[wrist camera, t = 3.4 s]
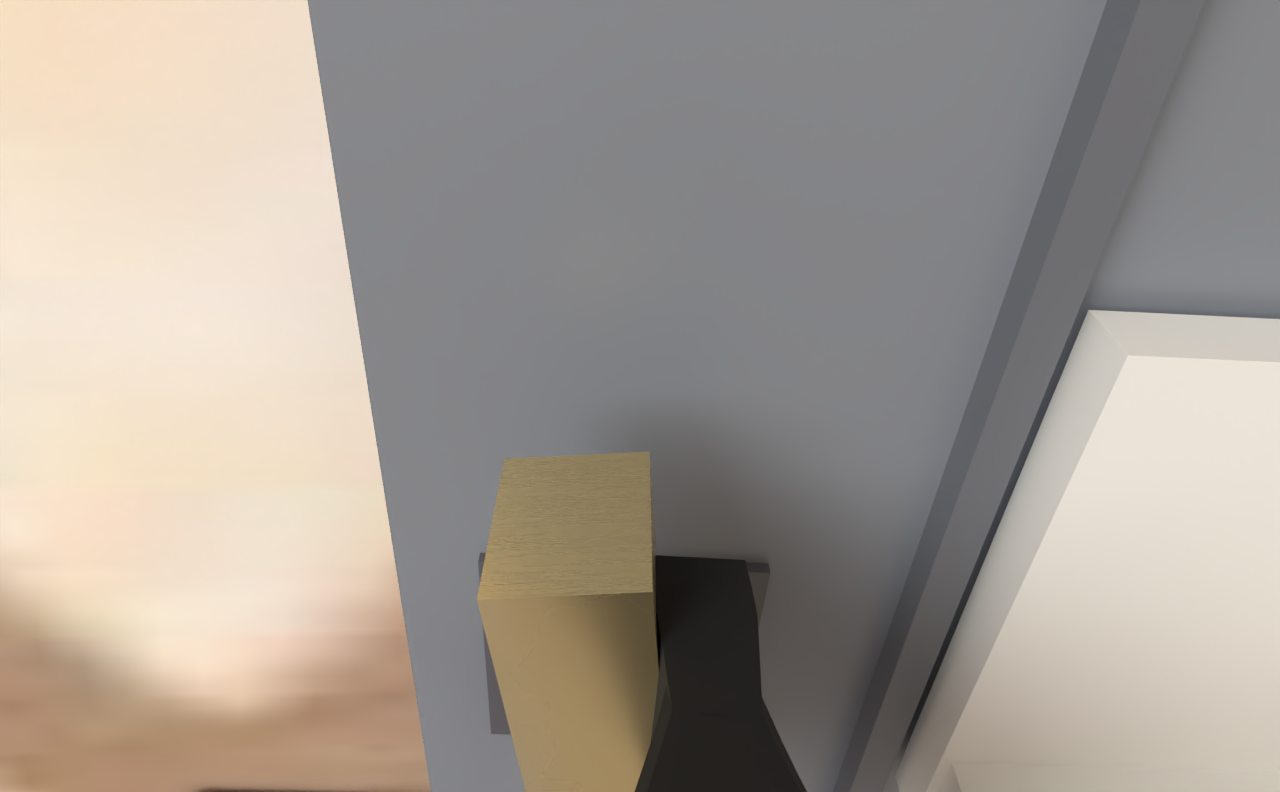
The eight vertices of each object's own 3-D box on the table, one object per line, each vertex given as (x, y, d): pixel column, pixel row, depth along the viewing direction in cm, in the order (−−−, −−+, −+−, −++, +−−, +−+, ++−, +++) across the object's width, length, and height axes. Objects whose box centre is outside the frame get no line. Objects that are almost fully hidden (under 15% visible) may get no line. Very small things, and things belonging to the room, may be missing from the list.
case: (1140, 742, 20) (1211, 878, 18) (457, 722, 20) (431, 860, 17) (1924, -396, 9) (2454, -471, 6) (317, -529, 8) (171, -673, 6)
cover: (1227, 784, 16) (1317, 934, 14) (894, 775, 16) (935, 926, 14) (1603, 335, 10) (1848, 474, 8) (1087, 309, 10) (1207, 446, 8)
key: (681, 699, 15) (693, 930, 12) (565, 704, 15) (548, 934, 12) (663, 368, 11) (674, 591, 8) (504, 377, 11) (455, 600, 8)
